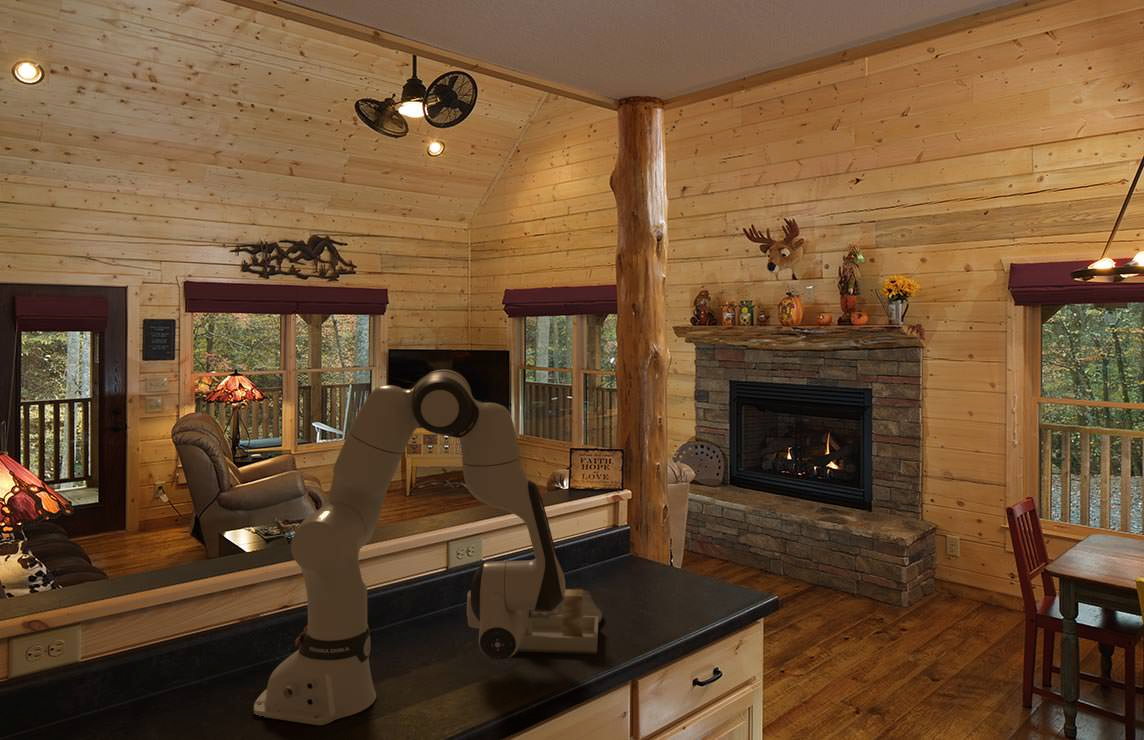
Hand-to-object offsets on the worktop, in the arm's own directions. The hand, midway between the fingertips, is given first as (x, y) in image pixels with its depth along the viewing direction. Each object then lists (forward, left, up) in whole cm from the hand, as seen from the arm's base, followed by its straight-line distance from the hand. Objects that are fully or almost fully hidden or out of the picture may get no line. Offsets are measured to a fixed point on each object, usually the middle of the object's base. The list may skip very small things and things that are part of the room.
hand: (516, 591), depth 172 cm
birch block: (+13, +4, -12) cm, 18 cm away
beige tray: (+7, +4, -13) cm, 15 cm away
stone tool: (+11, +22, -13) cm, 28 cm away
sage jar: (+1, +4, -12) cm, 13 cm away
